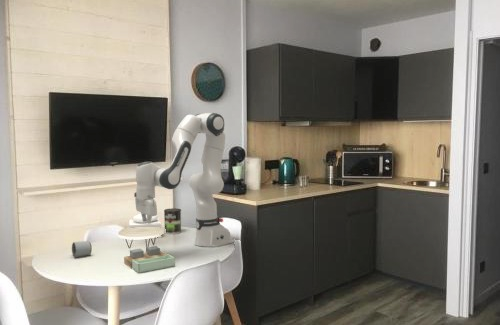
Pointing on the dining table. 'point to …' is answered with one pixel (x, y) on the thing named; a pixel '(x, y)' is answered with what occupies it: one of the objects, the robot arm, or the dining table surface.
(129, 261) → the board
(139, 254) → the tile
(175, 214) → the coffee can
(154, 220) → the butter dish
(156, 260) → the tray
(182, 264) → the dining table surface
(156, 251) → the tile
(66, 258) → the dining table surface
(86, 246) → the ceramic mug
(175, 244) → the dining table surface
